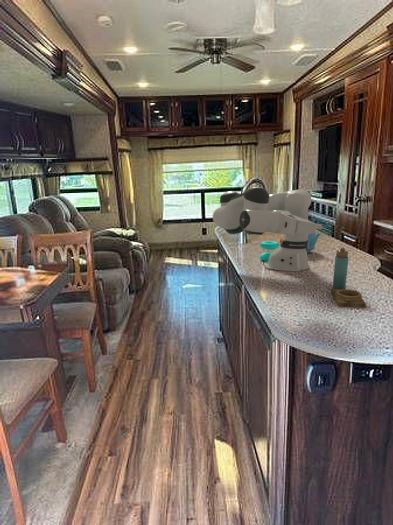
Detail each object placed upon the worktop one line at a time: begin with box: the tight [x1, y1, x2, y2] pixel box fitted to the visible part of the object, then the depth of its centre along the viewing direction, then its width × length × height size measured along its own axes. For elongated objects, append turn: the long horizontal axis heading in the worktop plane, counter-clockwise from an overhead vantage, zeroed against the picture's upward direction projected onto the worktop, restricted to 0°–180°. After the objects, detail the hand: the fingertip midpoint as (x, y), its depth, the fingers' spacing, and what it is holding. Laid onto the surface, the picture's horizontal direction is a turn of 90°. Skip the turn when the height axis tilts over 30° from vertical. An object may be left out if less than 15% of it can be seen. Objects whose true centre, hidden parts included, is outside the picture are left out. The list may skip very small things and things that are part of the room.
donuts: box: [259, 240, 280, 262], centre depth 195 cm, size 10×10×10 cm
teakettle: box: [307, 231, 324, 254], centre depth 210 cm, size 19×19×15 cm
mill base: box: [330, 288, 367, 309], centre depth 135 cm, size 10×15×3 cm, turn 168°
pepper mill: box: [332, 247, 350, 289], centre depth 145 cm, size 5×5×18 cm
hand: (315, 224), depth 138 cm, fingers open, 8 cm apart
